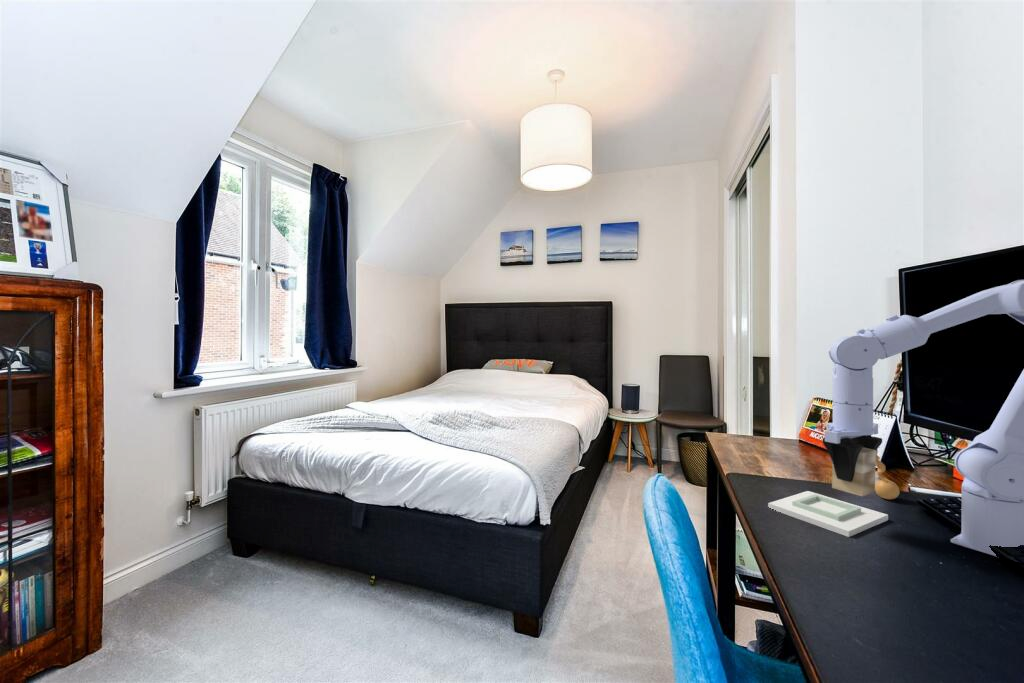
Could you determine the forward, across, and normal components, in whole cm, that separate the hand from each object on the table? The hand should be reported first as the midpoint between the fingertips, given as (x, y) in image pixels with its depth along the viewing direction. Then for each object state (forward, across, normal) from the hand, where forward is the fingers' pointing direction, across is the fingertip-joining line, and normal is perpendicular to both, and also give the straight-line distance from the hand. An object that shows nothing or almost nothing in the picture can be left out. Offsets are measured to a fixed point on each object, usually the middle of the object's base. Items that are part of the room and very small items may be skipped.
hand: (852, 477), depth 77 cm
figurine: (+9, -21, -4) cm, 23 cm away
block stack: (+2, 0, 0) cm, 2 cm away
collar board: (+9, -2, -5) cm, 11 cm away
